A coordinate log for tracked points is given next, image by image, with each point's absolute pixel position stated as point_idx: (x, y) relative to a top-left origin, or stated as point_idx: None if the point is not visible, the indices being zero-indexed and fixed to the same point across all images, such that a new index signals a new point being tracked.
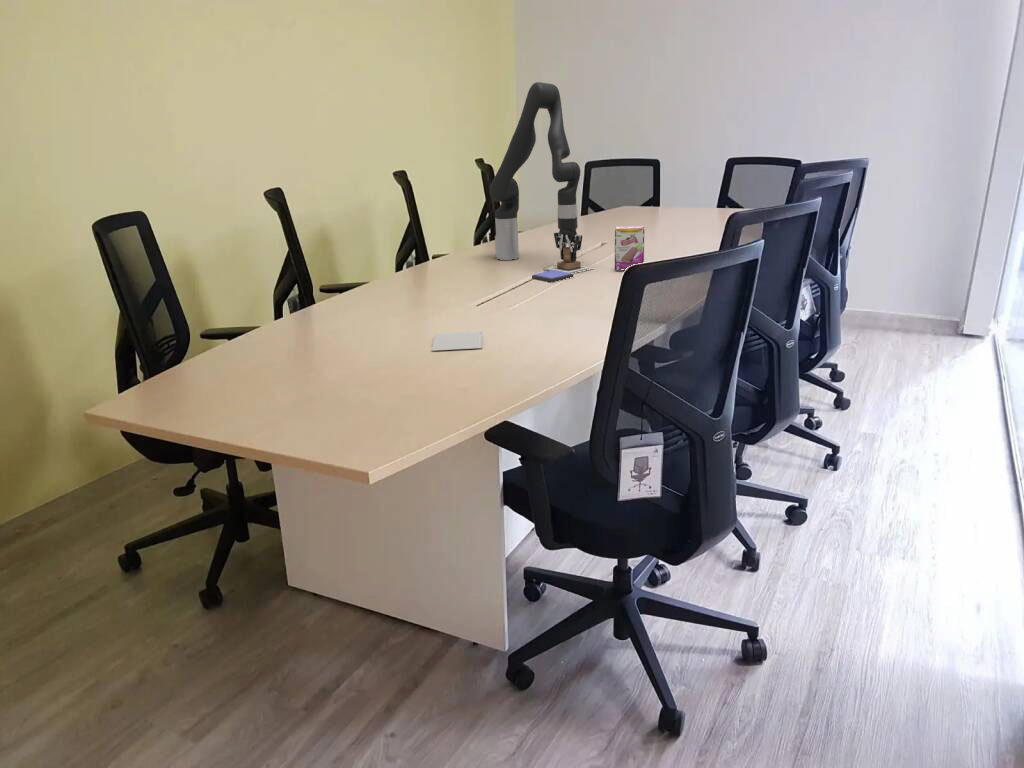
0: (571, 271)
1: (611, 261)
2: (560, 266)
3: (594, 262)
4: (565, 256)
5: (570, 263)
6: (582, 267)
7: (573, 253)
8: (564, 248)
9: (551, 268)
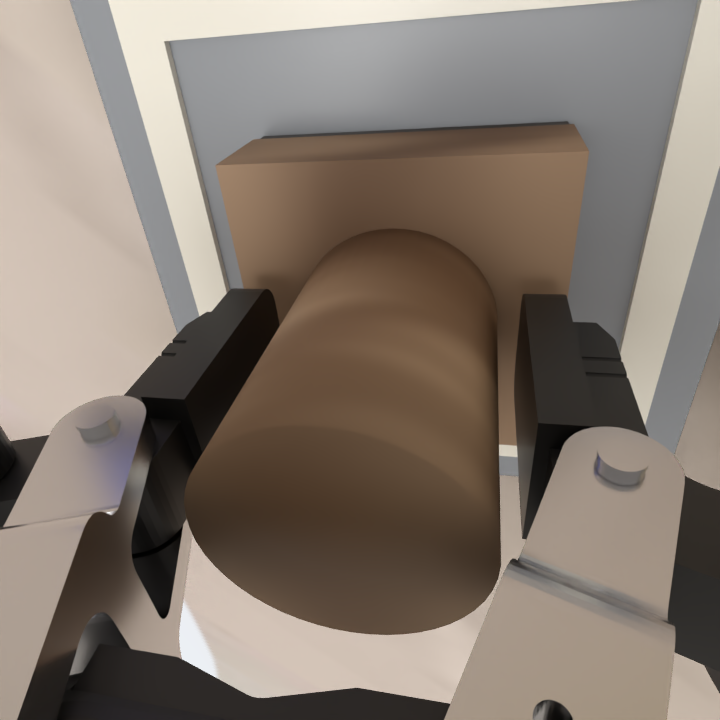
0: (140, 94)
1: (389, 672)
2: (469, 136)
3: (478, 622)
4: (350, 293)
5: (259, 244)
6: None
7: (131, 396)
8: (346, 440)
9: (692, 32)
